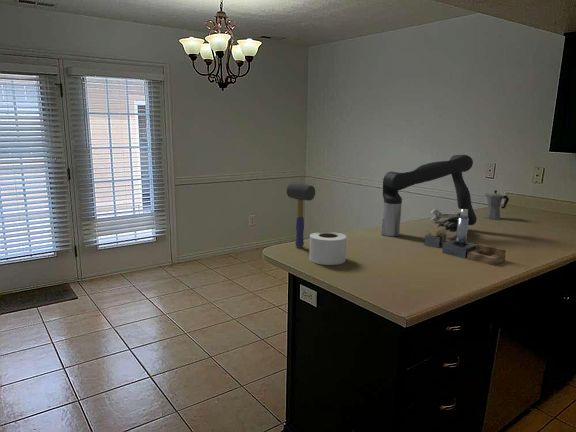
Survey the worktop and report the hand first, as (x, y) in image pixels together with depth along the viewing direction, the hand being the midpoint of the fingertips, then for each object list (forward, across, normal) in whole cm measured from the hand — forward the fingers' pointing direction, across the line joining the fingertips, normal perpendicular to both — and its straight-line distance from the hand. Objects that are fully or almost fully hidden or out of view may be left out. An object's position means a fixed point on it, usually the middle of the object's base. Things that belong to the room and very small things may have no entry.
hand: (443, 228), depth 219 cm
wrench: (-53, -19, +7) cm, 56 cm away
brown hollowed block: (+17, +26, +6) cm, 32 cm away
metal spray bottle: (+16, +14, +4) cm, 22 cm away
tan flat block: (+6, 0, +6) cm, 9 cm away
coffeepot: (-81, +2, +7) cm, 82 cm away
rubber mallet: (+59, -45, +7) cm, 74 cm away
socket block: (+16, +14, +6) cm, 22 cm away
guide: (+9, 0, +6) cm, 11 cm away
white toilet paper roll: (+66, -24, +7) cm, 70 cm away
